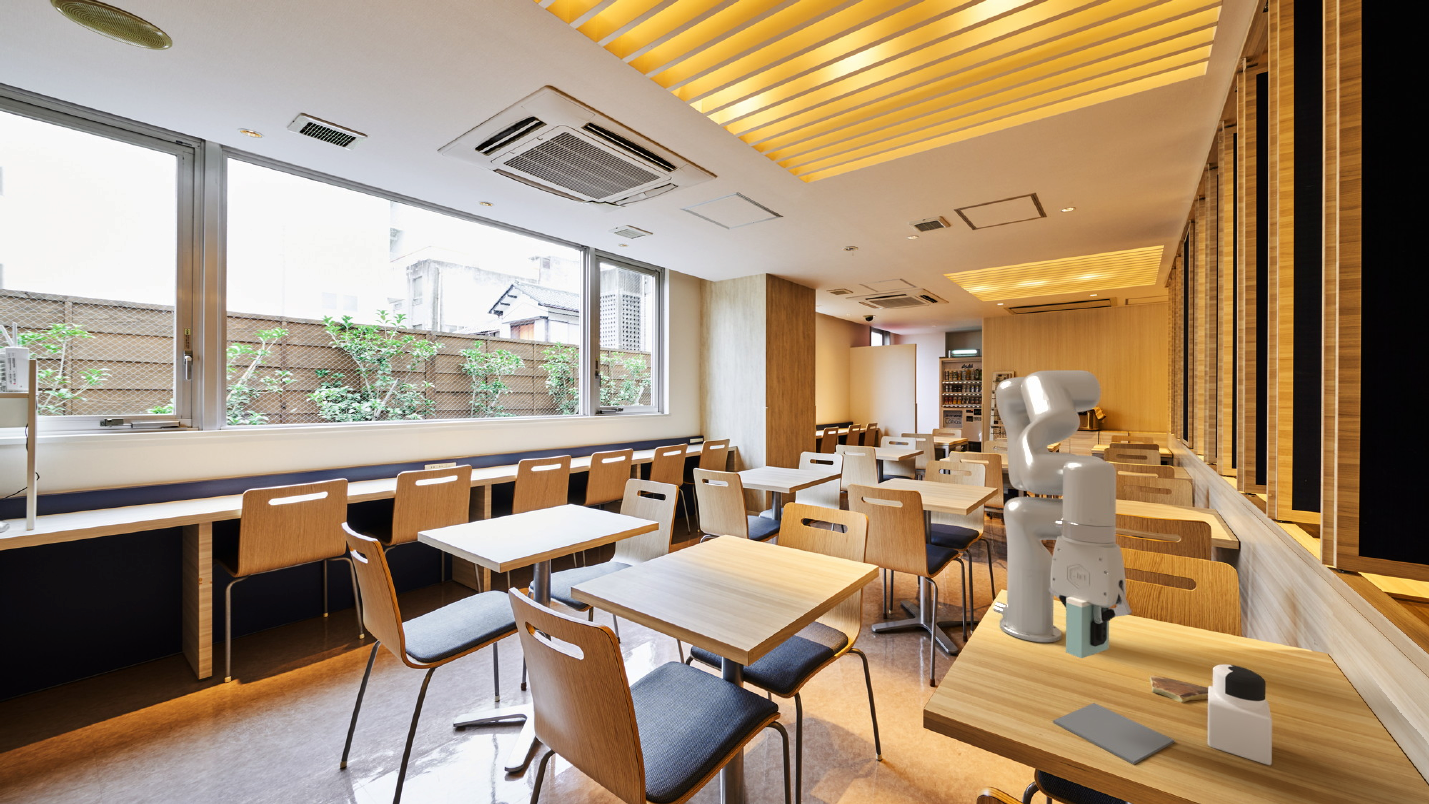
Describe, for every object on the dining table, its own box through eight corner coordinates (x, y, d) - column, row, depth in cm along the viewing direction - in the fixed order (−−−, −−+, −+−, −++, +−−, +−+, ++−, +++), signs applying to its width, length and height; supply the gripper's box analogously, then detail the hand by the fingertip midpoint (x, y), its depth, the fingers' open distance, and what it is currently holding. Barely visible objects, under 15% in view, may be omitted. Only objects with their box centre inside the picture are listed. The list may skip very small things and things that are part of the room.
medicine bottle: (1267, 745, 88) (1268, 669, 88) (1271, 767, 83) (1272, 686, 82) (1207, 727, 93) (1208, 655, 93) (1207, 746, 87) (1208, 670, 87)
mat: (1053, 722, 94) (1053, 720, 94) (1094, 705, 99) (1094, 702, 99) (1133, 764, 83) (1133, 761, 83) (1174, 742, 88) (1174, 739, 88)
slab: (1066, 652, 94) (1066, 597, 94) (1093, 643, 97) (1093, 590, 97) (1081, 658, 91) (1081, 602, 91) (1108, 648, 95) (1109, 595, 95)
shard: (1223, 698, 102) (1223, 688, 102) (1231, 718, 96) (1231, 707, 96) (1149, 681, 109) (1149, 671, 109) (1152, 698, 102) (1152, 688, 102)
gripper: (1029, 525, 100) (1028, 627, 100) (1129, 546, 85) (1128, 665, 85) (1054, 521, 103) (1053, 620, 103) (1155, 541, 89) (1154, 655, 89)
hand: (1087, 639), depth 94 cm, fingers closed on slab, 2 cm apart
